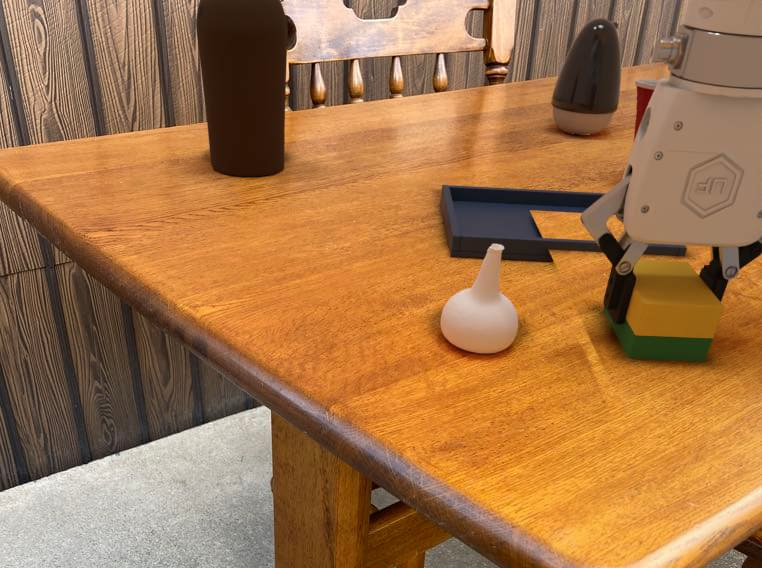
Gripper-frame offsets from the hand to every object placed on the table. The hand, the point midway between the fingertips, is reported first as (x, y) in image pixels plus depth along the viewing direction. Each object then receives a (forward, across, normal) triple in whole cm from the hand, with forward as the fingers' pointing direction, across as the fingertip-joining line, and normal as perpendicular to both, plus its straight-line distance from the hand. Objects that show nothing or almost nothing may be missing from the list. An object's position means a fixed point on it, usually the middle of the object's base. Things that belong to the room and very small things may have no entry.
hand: (656, 317), depth 63 cm
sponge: (+2, 0, 0) cm, 2 cm away
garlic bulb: (+3, -14, 0) cm, 15 cm away
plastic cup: (+3, +14, +49) cm, 51 cm away
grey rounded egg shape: (+3, +10, +78) cm, 78 cm away
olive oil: (+3, -39, +48) cm, 62 cm away
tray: (+3, -3, +28) cm, 28 cm away
